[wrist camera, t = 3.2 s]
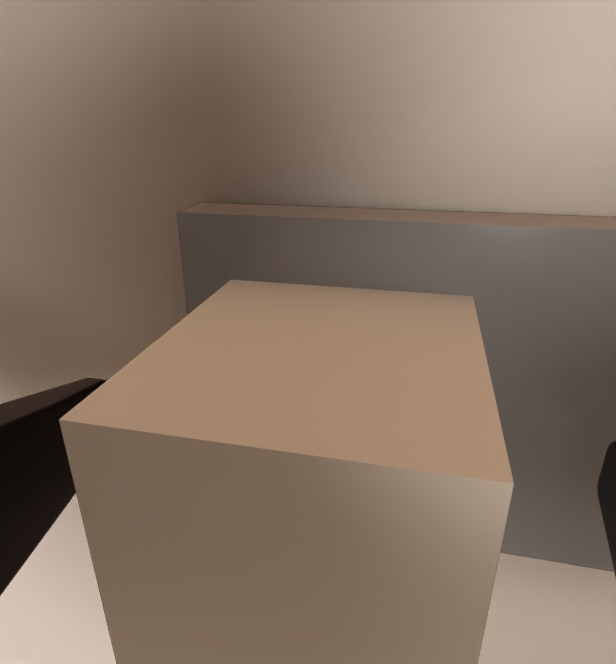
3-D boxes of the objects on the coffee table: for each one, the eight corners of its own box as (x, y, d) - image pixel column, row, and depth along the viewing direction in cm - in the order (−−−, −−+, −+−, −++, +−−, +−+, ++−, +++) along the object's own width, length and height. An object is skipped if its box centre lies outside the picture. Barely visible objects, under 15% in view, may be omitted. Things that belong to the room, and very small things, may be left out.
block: (445, 497, 11) (454, 777, 6) (243, 467, 12) (123, 691, 7) (473, 296, 9) (514, 483, 4) (231, 279, 10) (59, 419, 5)
